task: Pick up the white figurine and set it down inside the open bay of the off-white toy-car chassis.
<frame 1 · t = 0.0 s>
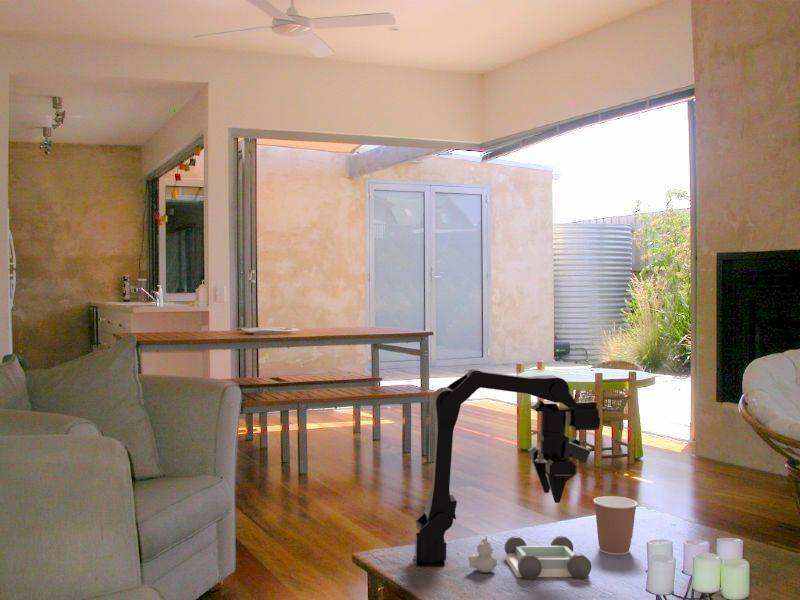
hand: (551, 497, 198), 15 cm above the table, fingers open, 9 cm apart
coffee cup: (614, 551, 206), on the table
toy chassis: (546, 567, 193), on the table
white figurine: (482, 572, 189), on the table
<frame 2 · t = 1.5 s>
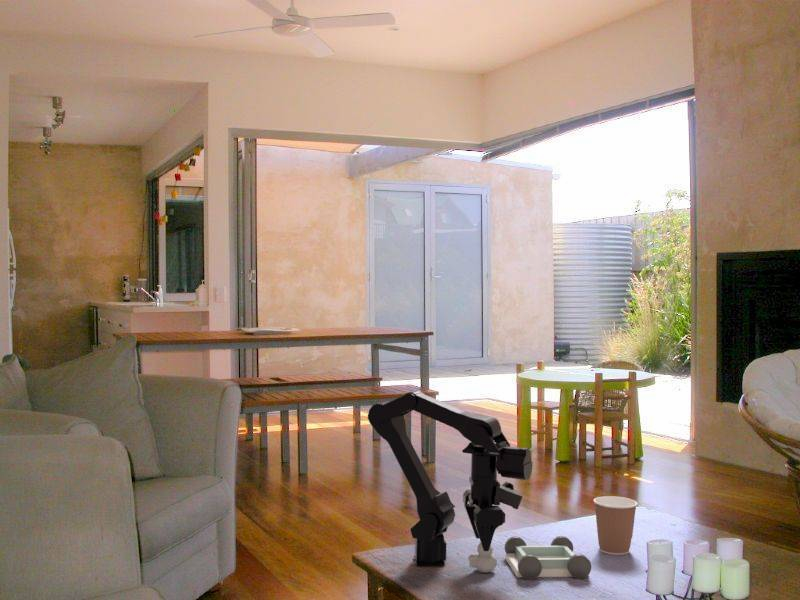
hand: (482, 544, 189), 6 cm above the table, fingers open, 9 cm apart
nothing on the table moved.
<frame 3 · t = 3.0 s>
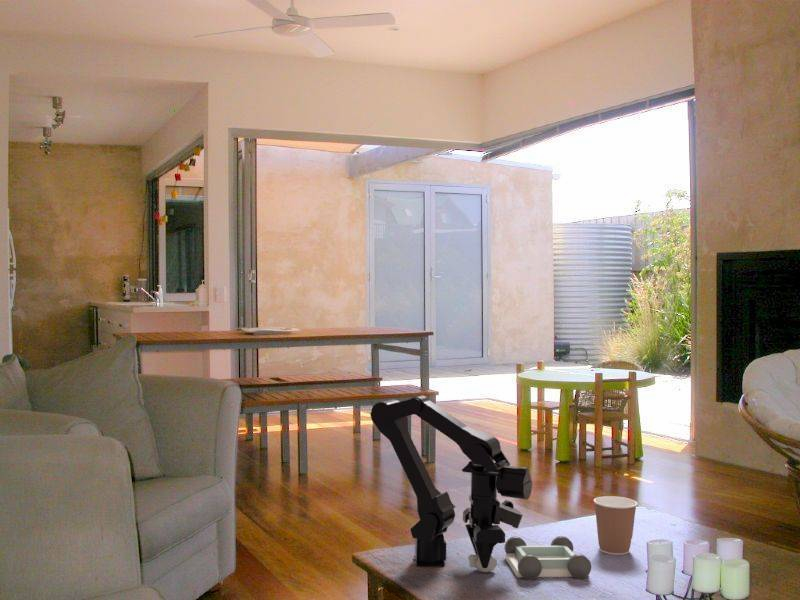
hand: (482, 563, 189), 2 cm above the table, fingers closed on white figurine, 5 cm apart
white figurine: (482, 572, 189), on the table, touching gripper
everything else where it was.
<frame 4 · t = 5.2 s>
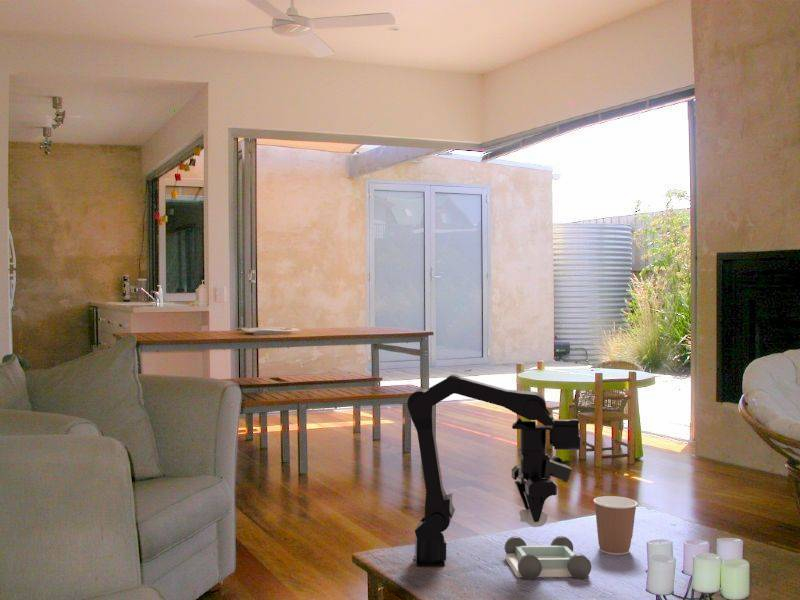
hand: (533, 518, 191), 11 cm above the table, fingers closed on white figurine, 5 cm apart
white figurine: (533, 527, 191), point 9 cm above the table, touching gripper
everything else where it was.
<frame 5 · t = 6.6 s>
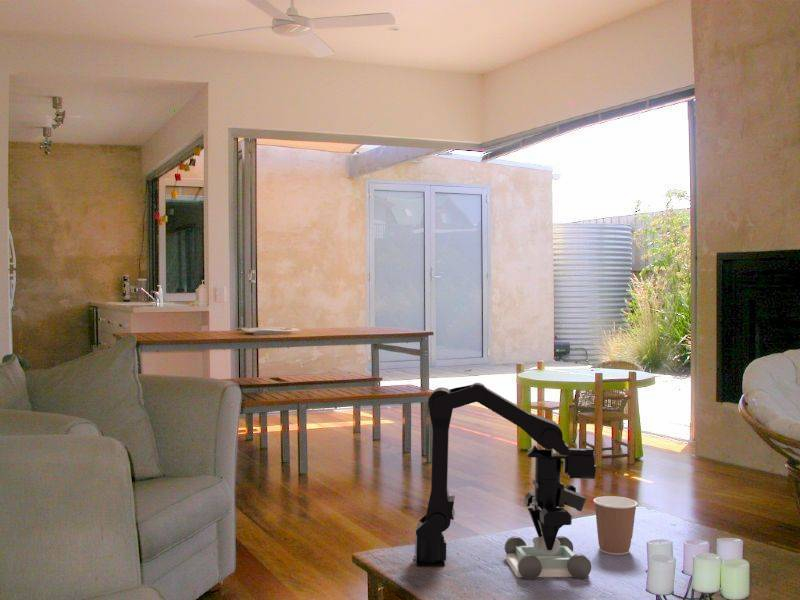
hand: (546, 545, 193), 5 cm above the table, fingers closed on white figurine, 5 cm apart
white figurine: (545, 554, 193), point 3 cm above the table, touching gripper
everything else where it was.
when the fingers open (5 cm above the table, at t = 7.5 s): white figurine drops 1 cm, resting on toy chassis.
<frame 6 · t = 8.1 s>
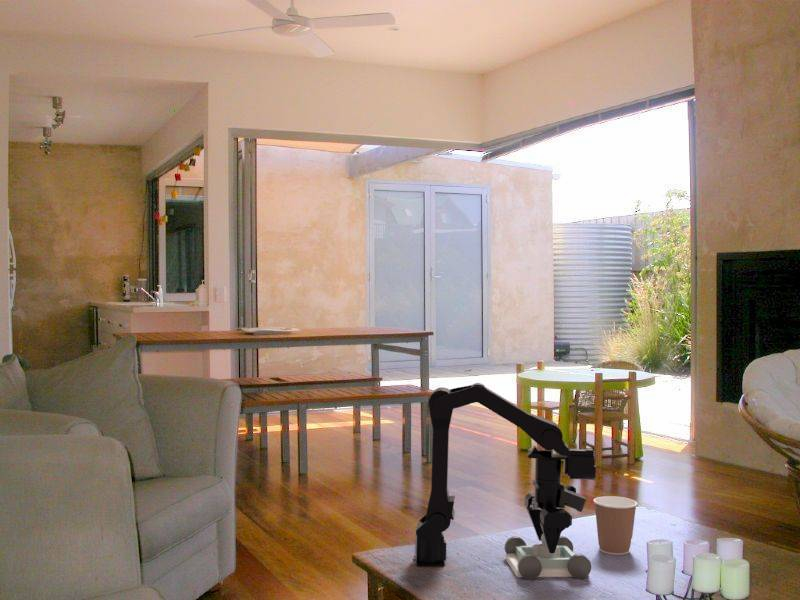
hand: (546, 546, 193), 5 cm above the table, fingers open, 9 cm apart
white figurine: (545, 562, 193), point 1 cm above the table, touching toy chassis
everything else where it was.
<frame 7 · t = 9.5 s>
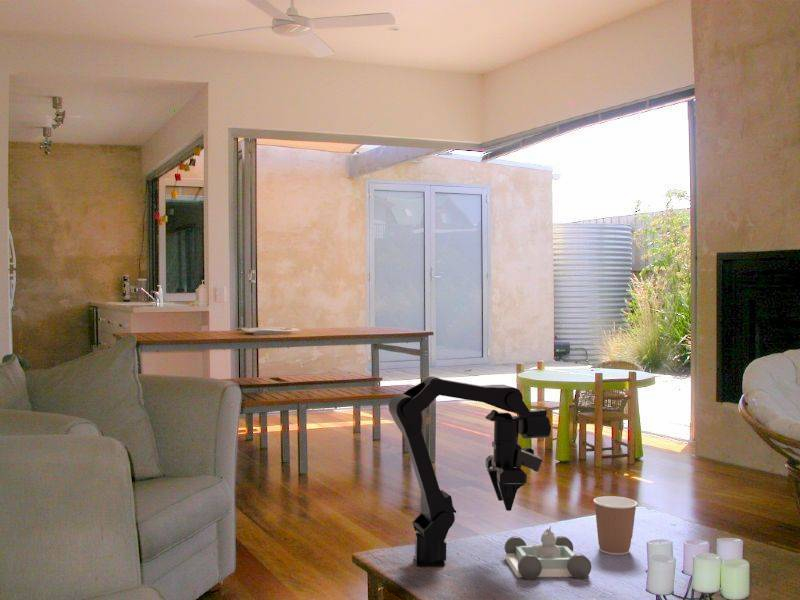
hand: (504, 505, 200), 12 cm above the table, fingers open, 9 cm apart
nothing on the table moved.
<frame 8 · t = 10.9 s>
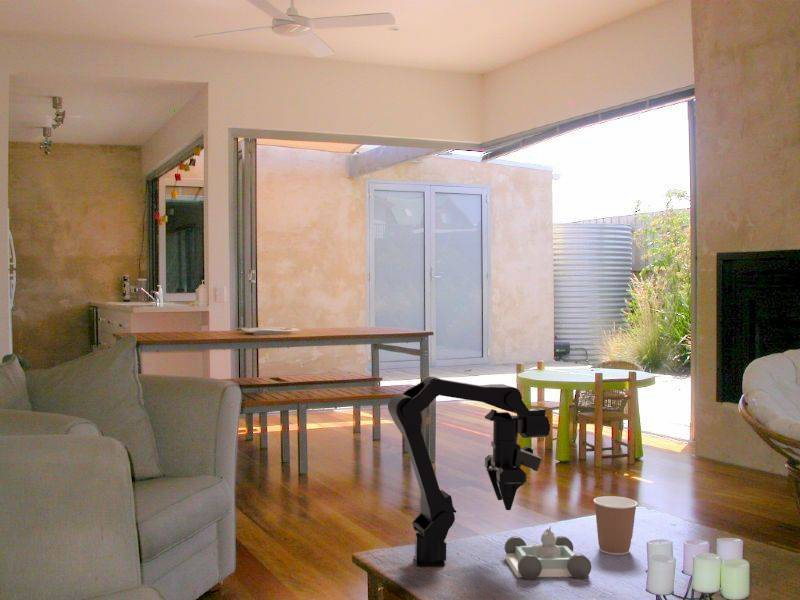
hand: (504, 504, 201), 12 cm above the table, fingers open, 9 cm apart
nothing on the table moved.
at the end: white figurine 0.1 cm off-centre on the toy chassis, point 1.3 cm above the toy chassis's base; white figurine touching toy chassis; the gripper is holding nothing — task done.
